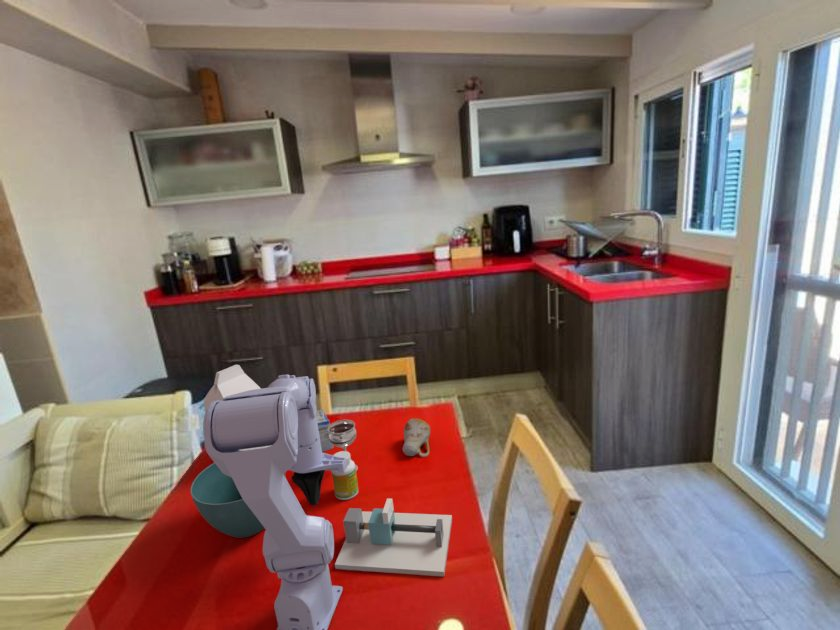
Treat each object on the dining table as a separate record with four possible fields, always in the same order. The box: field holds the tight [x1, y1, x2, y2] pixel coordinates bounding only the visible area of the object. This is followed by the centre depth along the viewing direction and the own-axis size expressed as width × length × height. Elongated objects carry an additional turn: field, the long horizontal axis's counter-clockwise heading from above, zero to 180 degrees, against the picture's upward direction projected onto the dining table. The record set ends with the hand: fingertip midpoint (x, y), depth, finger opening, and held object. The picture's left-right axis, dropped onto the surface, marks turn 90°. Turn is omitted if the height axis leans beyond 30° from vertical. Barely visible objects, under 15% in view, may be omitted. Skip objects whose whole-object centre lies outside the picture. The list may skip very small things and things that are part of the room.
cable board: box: [334, 507, 453, 577], centre depth 84 cm, size 14×20×6 cm
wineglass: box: [328, 419, 359, 472], centre depth 108 cm, size 7×7×12 cm
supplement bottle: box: [330, 450, 359, 501], centre depth 100 cm, size 5×5×10 cm
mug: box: [402, 418, 431, 458], centre depth 116 cm, size 8×10×10 cm
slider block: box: [368, 498, 395, 544], centre depth 84 cm, size 4×4×7 cm
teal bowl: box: [190, 462, 286, 539], centre depth 93 cm, size 18×18×12 cm
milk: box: [203, 364, 272, 451], centre depth 116 cm, size 12×12×26 cm
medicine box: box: [316, 409, 334, 453], centre depth 122 cm, size 8×4×9 cm, turn 25°
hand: (315, 501), depth 84 cm, fingers closed
